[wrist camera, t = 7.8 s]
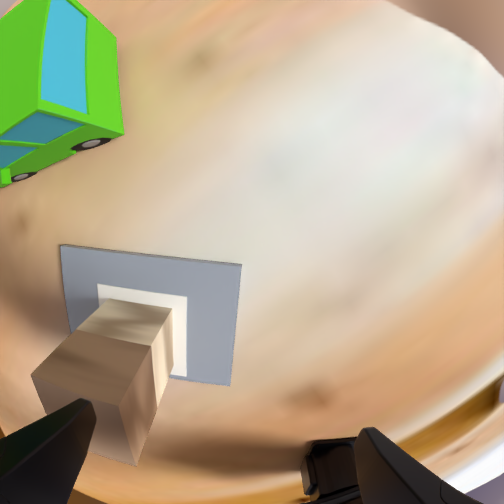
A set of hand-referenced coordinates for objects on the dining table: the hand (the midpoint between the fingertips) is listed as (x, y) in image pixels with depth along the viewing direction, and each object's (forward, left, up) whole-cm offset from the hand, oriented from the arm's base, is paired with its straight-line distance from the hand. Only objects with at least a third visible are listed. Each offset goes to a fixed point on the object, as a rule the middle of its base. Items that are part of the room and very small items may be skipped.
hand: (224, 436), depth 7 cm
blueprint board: (+7, +3, -12) cm, 15 cm away
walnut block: (+7, +4, -7) cm, 10 cm away
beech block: (+7, +4, -12) cm, 14 cm away
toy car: (+16, -12, -13) cm, 24 cm away
